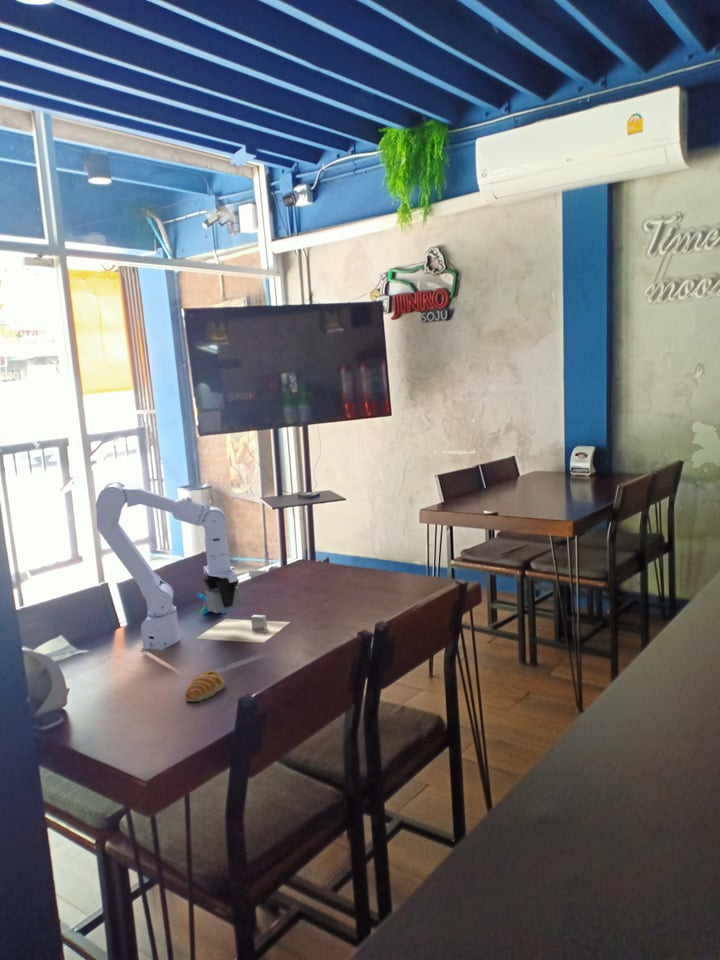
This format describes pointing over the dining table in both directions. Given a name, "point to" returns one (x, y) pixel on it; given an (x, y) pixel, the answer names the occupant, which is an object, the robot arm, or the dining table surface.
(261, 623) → the key shaft
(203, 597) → the blue cross piece
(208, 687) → the pastry
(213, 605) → the grey hollow rectangular block
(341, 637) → the dining table surface
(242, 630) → the shaft board
